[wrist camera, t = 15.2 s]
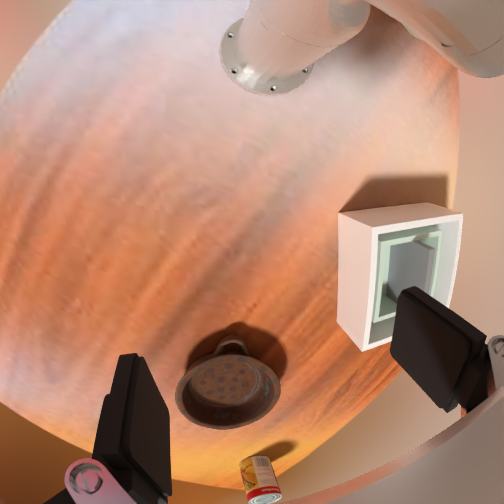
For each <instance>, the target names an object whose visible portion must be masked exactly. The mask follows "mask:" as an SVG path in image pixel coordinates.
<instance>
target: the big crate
mask: <svg viewBox="0 0 504 504" xmlns="http://www.w3.org/2000/svg"><path fill="white" fill-rule="evenodd" d="M462 222H463V213H461V212H458V211H455V210H451V209H448V208H445V207H442V206H438V205H435V204H431V203H428V202H425V203H415V204H406V205H397V206H389V207H380V208H372V209H364V210H356V211H348V212H340V213H338V232H339V269H338V305H337V323H338V324H339V325H340V326H341V328H342V329H343V330H344V331H345V332H346V333H347V335H348V336H349V337H350V338H351V339H352V340H353V342H354V343H355V344H356V345H357V346H358V348H359V349H360V350H361V351H365V350H368V349H371V348H374V347H376V346H379V345H382V344H385V343H387V342H390V341H392V335H393V329H394V322H395V316H394V317H391V318H388V319H385V320H382V321H379V322H376V323H373V322H372V313H373V304H374V294H375V283H376V269H377V252H378V234H383V233H389V232H394V231H400V230H406V229H412V228H417V227H423V226H429V225H430V226H433V227H435V228H438V229H441V230H442V240H441V249H440V257H439V264H438V271H437V277H436V283H435V289H434V295H433V298H434V299H436V300H437V301H439V302H440V303H442V304H443V305H445V306H446V307H447V308H449V305H450V301H451V296H452V292H453V287H454V281H455V276H456V270H457V264H458V256H459V250H460V242H461V233H462Z"/></svg>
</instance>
